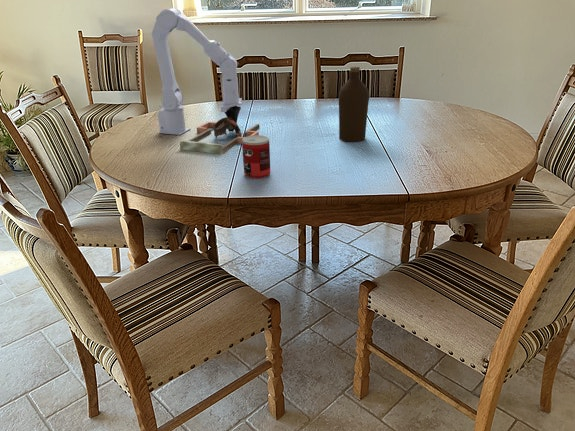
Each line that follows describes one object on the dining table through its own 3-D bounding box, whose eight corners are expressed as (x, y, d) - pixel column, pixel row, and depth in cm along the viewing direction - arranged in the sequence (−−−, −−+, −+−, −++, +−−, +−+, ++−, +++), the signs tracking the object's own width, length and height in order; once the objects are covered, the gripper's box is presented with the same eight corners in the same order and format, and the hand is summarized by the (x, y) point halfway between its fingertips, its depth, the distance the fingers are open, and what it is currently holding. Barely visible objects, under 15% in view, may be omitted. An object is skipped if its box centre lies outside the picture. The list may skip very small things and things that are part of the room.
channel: (180, 149, 168) (179, 141, 167) (222, 124, 195) (222, 117, 194) (221, 153, 163) (220, 145, 162) (259, 127, 190) (259, 120, 189)
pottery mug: (242, 141, 176) (230, 124, 171) (221, 152, 179) (208, 135, 174) (244, 124, 185) (233, 107, 180) (224, 134, 188) (212, 117, 183)
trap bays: (187, 138, 180) (187, 132, 179) (208, 126, 193) (207, 121, 193) (248, 144, 172) (248, 138, 171) (266, 131, 185) (265, 126, 185)
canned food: (243, 170, 149) (241, 135, 144) (269, 169, 149) (268, 134, 144) (244, 179, 142) (241, 143, 137) (271, 178, 142) (269, 142, 138)
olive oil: (345, 144, 170) (347, 71, 159) (332, 136, 179) (334, 66, 168) (372, 140, 173) (376, 68, 162) (358, 132, 182) (361, 63, 171)
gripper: (231, 95, 173) (234, 132, 179) (248, 87, 185) (250, 121, 191) (214, 94, 175) (217, 130, 181) (231, 86, 187) (234, 120, 193)
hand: (233, 126), depth 186 cm, fingers closed
